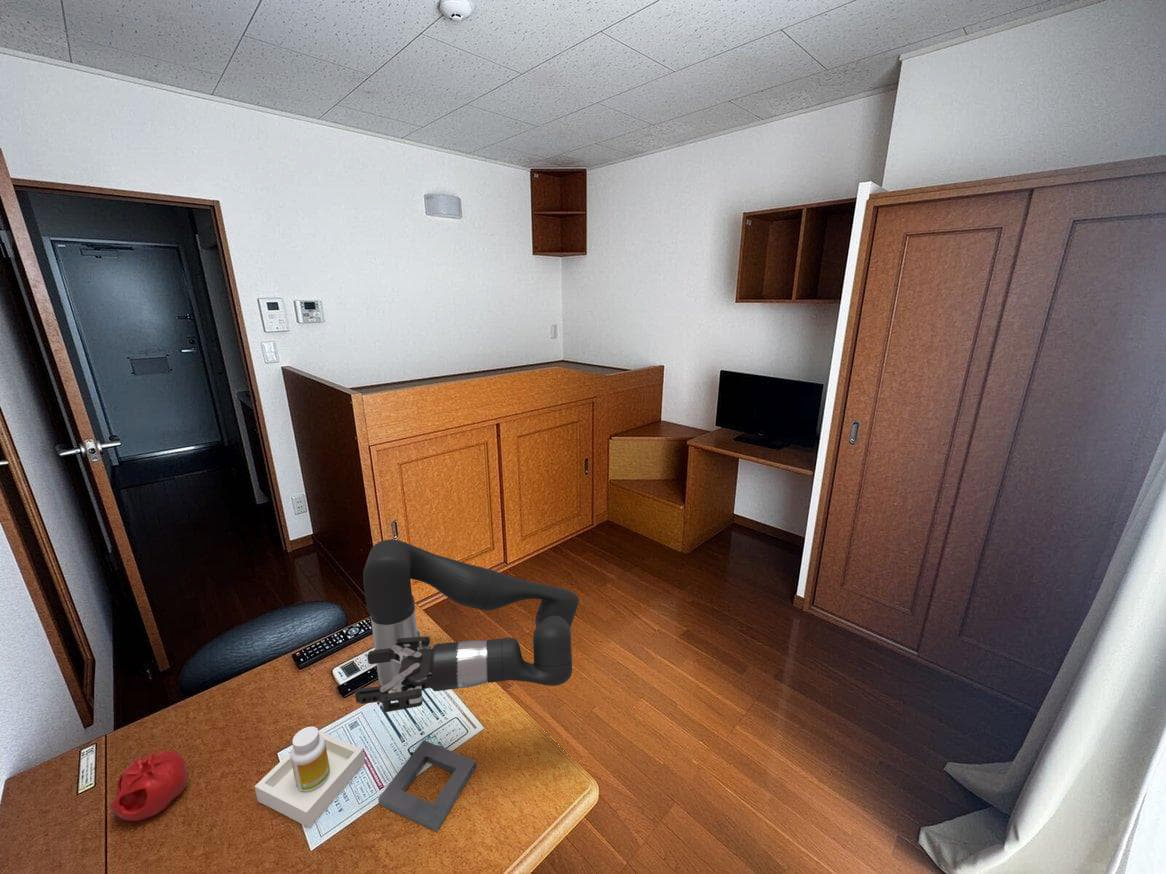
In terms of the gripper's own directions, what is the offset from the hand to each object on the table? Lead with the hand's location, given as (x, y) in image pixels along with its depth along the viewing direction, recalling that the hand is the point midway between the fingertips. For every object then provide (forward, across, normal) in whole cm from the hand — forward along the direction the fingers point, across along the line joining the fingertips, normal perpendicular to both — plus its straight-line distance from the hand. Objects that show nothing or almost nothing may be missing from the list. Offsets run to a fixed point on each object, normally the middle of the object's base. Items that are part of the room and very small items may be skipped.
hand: (362, 675), depth 79 cm
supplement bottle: (+10, +1, -22) cm, 25 cm away
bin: (+11, +1, -23) cm, 26 cm away
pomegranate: (+36, +3, -24) cm, 44 cm away
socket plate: (-10, -3, -23) cm, 25 cm away
